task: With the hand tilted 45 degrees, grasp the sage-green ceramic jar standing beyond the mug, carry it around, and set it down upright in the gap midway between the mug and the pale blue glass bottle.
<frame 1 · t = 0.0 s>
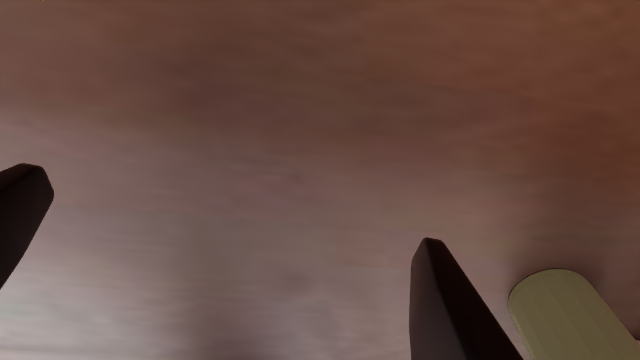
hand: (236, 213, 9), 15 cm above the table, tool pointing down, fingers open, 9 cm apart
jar: (548, 299, 29), on the table
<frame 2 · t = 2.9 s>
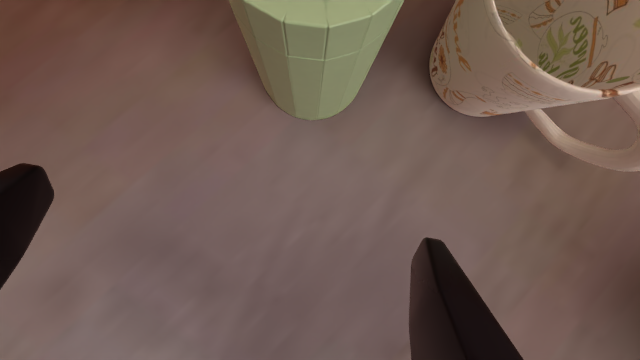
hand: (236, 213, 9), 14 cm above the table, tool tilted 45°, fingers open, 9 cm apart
mug: (499, 94, 24), on the table
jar: (312, 70, 23), on the table
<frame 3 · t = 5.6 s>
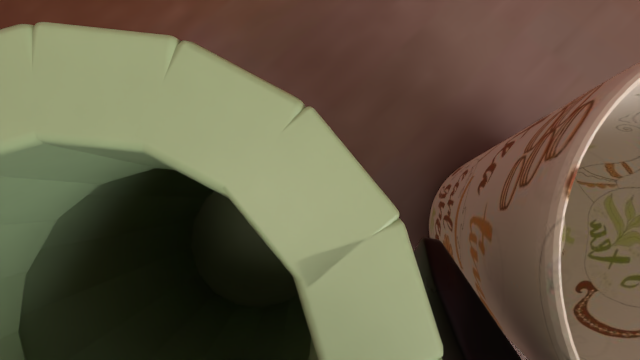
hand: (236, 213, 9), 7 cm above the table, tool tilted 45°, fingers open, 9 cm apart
mug: (529, 262, 16), on the table, touching gripper
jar: (260, 238, 16), on the table
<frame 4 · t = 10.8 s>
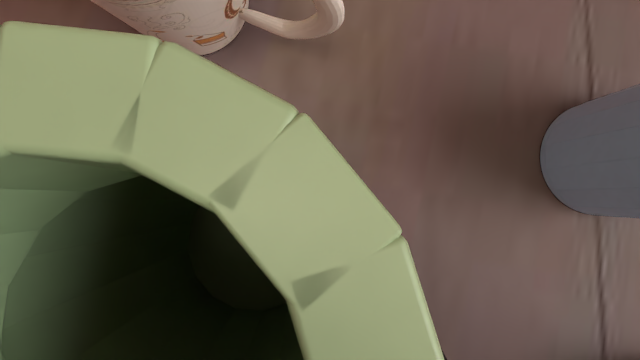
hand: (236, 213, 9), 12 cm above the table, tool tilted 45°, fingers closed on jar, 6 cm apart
mug: (231, 17, 22), on the table
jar: (258, 240, 16), point 5 cm above the table, touching gripper
bottle: (594, 158, 22), on the table
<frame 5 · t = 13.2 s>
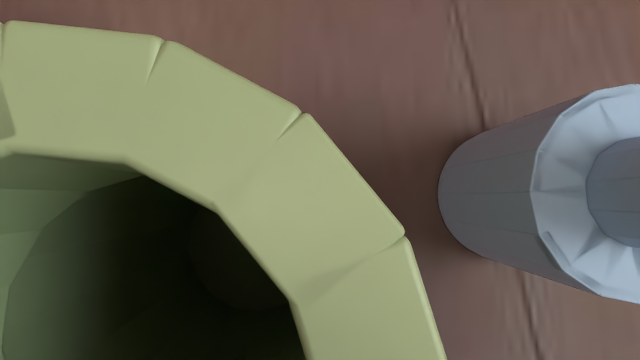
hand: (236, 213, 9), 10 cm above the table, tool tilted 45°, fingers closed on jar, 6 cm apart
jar: (258, 240, 16), point 3 cm above the table, touching gripper
bottle: (499, 194, 19), on the table
when the fingers open (7 cm above the table, at t = 15.3 s): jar stays where it is, on the table.
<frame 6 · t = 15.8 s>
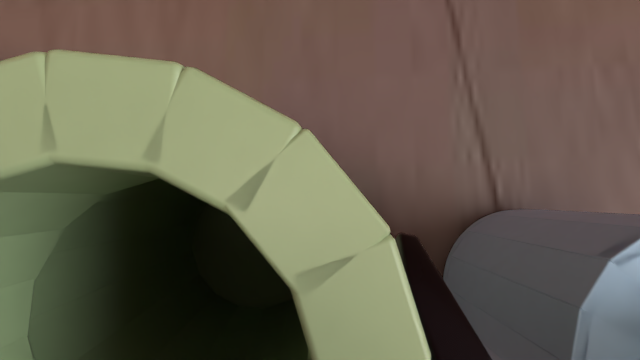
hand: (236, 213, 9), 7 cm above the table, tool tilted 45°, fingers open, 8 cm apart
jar: (260, 239, 16), on the table
bottle: (515, 283, 16), on the table
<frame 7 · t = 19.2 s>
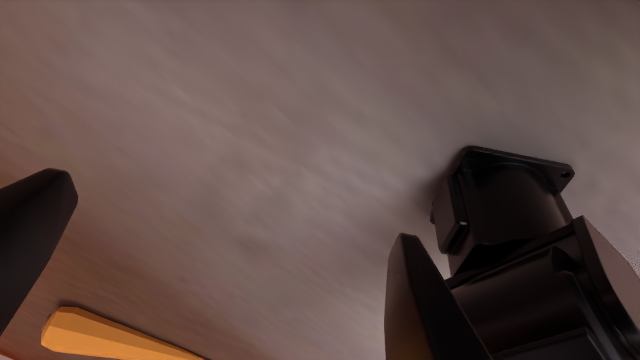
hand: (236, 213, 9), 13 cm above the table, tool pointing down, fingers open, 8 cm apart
carrot: (146, 336, 45), on the table
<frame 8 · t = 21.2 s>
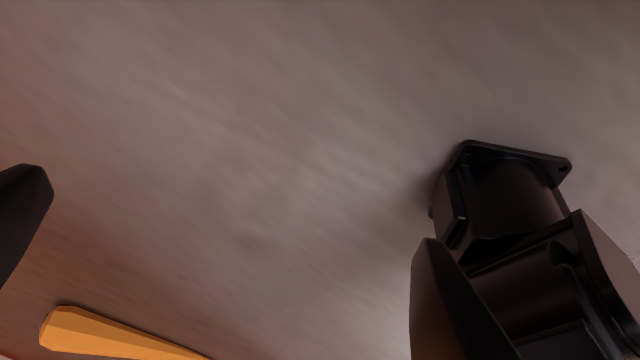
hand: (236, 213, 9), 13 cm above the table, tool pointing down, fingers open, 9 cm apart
carrot: (145, 334, 45), on the table
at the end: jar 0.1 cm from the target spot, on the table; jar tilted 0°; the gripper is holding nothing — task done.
